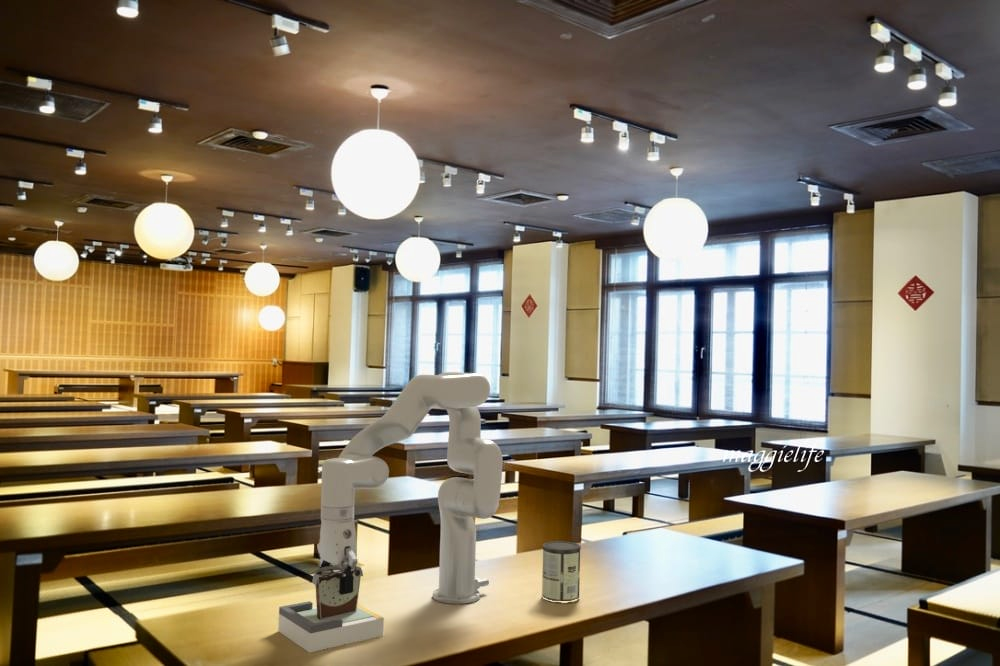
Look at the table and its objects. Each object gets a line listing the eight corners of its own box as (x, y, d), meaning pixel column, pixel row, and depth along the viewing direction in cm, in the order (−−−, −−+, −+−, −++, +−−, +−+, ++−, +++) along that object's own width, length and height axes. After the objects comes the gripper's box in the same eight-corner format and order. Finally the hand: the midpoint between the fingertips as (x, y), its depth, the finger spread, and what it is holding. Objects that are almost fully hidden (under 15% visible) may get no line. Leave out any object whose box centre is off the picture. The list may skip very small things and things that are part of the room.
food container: (347, 604, 184) (349, 561, 185) (361, 610, 180) (363, 567, 180) (300, 614, 176) (302, 569, 176) (314, 621, 171) (316, 575, 172)
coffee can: (553, 590, 216) (554, 539, 216) (586, 597, 210) (587, 544, 210) (534, 598, 207) (535, 545, 208) (568, 606, 201) (569, 551, 202)
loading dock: (348, 616, 188) (349, 593, 188) (383, 635, 176) (383, 611, 176) (278, 631, 176) (279, 606, 177) (309, 652, 164) (310, 626, 164)
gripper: (371, 517, 173) (369, 594, 173) (334, 505, 187) (332, 576, 186) (340, 521, 169) (339, 600, 168) (305, 508, 182) (303, 582, 181)
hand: (335, 588), depth 177 cm, fingers open, 9 cm apart
